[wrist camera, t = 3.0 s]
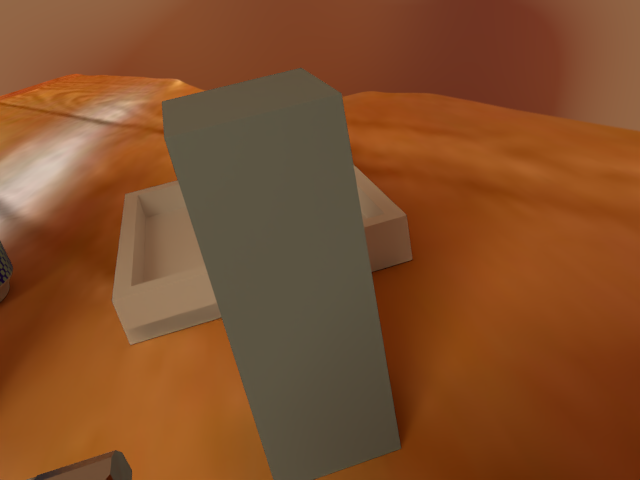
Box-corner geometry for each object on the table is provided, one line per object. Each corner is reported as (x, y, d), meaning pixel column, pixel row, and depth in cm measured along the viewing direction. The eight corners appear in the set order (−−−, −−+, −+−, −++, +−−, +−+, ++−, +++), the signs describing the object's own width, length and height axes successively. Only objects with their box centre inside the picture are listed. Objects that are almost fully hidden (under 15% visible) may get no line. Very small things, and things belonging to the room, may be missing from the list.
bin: (130, 345, 32) (111, 300, 31) (137, 227, 47) (125, 194, 46) (412, 259, 35) (406, 215, 33) (334, 173, 50) (328, 140, 48)
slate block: (277, 492, 22) (164, 138, 15) (256, 405, 26) (161, 101, 20) (401, 448, 23) (341, 93, 16) (360, 370, 27) (301, 68, 21)
